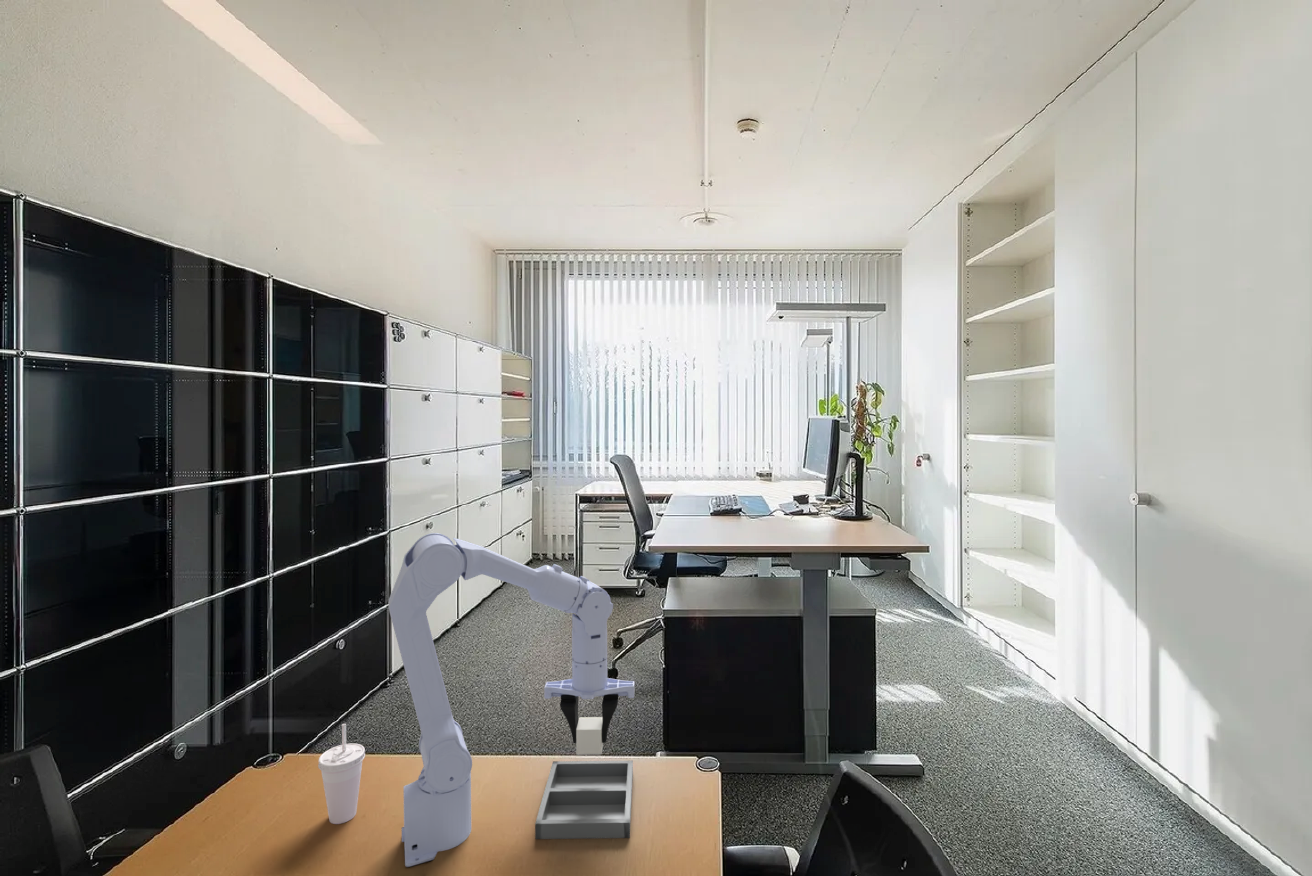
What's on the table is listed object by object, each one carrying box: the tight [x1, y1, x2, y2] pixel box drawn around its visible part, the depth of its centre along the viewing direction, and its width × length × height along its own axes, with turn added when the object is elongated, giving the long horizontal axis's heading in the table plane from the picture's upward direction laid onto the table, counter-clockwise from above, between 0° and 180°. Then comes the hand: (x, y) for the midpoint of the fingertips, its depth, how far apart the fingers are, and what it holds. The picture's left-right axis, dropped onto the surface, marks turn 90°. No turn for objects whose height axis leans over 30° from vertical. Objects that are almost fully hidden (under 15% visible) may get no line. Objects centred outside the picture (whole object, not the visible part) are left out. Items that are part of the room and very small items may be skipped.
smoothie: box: [317, 723, 366, 825], centre depth 90 cm, size 6×6×14 cm
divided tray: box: [534, 760, 634, 840], centre depth 91 cm, size 14×16×3 cm
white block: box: [575, 716, 604, 756], centre depth 95 cm, size 4×4×4 cm
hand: (590, 739), depth 95 cm, fingers closed on white block, 4 cm apart
